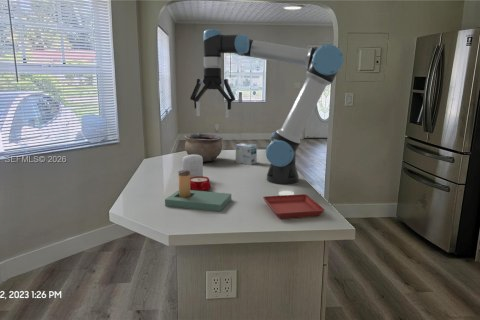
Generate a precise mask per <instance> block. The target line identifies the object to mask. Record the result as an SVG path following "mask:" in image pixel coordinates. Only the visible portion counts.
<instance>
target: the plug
mask: <svg viewBox="0 0 480 320" xmlns="http://www.w3.org/2000/svg"><path fill="white" fill-rule="evenodd" d="M177 172H178V190H179V197H180V198H190V171H188V170H182V169H181V170H179V171H177Z"/></svg>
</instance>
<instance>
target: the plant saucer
mask: <svg viewBox="0 0 480 320" xmlns="http://www.w3.org/2000/svg"><path fill="white" fill-rule="evenodd" d="M262 198H263V200H264V202H265V204H267V206H268V207H269V209H271V211H272V212H273V213H274V214H275V216H277V217H278V219H292V218H293V219H294V218H295V219H296V218H306V217H308V218H309V217H318V216H320V215H321V214H323V213H324V212H325V211H326V209H325V208H324V207H323V206H321V205H320V204H319V203H318V202H317V201H315V200H314V199H312V197H310V196H309V195H307V194H305V193H304V194H301V193H300V194H282V195H270V196H269V195H267V196H262Z"/></svg>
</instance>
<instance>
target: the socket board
mask: <svg viewBox="0 0 480 320" xmlns="http://www.w3.org/2000/svg"><path fill="white" fill-rule="evenodd" d="M230 201H232V193H225V192H217V191H216V192H215V191H214V192H213V191H202V190H199V191H198V190H196V191H195V190H190V198H180V197H179V189H178V190H177V191H175V192H174V193H173V194H171V195H169V196H168V197H166V198H165V199H164V206H165V207H174V208H183V209H184V208H186V209H193V210H194V209H195V210H203V211H210V212H211V211H213V212H222V210H223V209H224V208H225V207H226V206H228V204H229V203H230Z"/></svg>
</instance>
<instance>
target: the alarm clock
mask: <svg viewBox="0 0 480 320" xmlns="http://www.w3.org/2000/svg"><path fill="white" fill-rule="evenodd" d="M211 187H212V186H211V184H210V178H209V177H208V176H204V175H203V176H196V177H191V178H190V190H195V191H206V192H209V191H210V189H211Z"/></svg>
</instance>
